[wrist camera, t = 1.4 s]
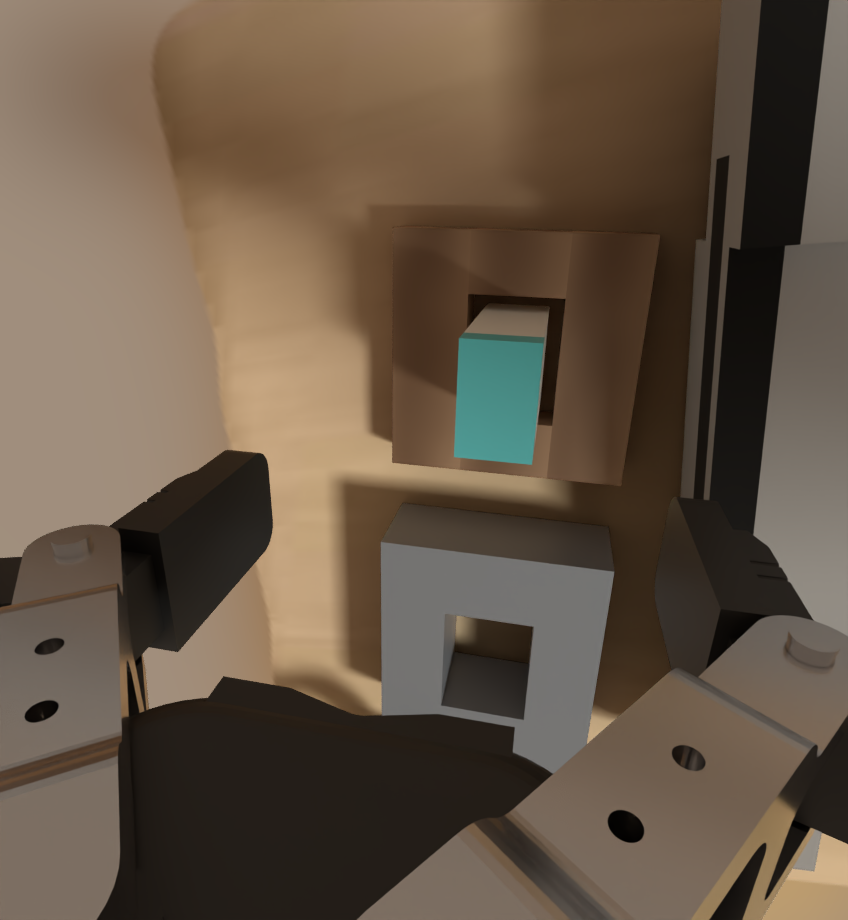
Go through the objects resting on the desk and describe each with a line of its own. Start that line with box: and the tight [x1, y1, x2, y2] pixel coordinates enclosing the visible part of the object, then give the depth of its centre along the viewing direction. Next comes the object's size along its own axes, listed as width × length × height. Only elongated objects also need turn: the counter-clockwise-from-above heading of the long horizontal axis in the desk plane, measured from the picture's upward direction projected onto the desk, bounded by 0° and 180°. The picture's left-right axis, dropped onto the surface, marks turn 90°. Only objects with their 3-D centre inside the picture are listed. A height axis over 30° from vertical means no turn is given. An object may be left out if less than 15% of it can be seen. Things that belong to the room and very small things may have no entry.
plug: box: [454, 303, 550, 465], centre depth 23 cm, size 3×4×8 cm, turn 179°
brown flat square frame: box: [392, 226, 660, 486], centre depth 26 cm, size 10×10×2 cm
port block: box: [381, 503, 614, 774], centre depth 30 cm, size 10×12×4 cm
